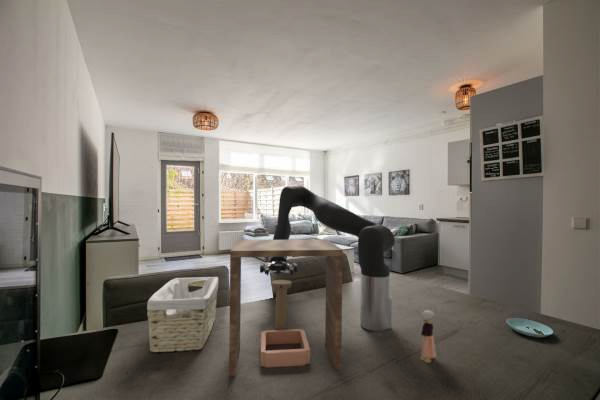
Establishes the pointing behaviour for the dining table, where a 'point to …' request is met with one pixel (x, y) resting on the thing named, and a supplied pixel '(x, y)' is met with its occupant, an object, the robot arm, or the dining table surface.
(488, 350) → the dining table surface
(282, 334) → the socket
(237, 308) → the wooden footstool
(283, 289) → the handle
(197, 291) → the storage basket
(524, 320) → the saucer
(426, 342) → the grandmother figurine
